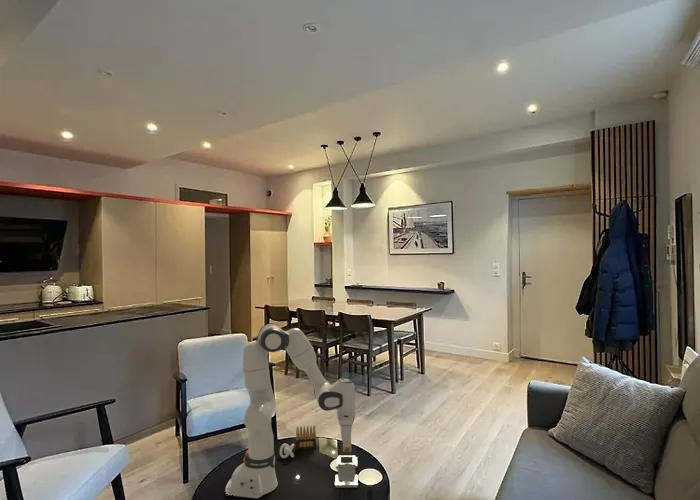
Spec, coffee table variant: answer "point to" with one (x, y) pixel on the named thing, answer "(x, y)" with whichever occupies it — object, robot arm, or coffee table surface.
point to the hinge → (346, 472)
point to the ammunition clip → (306, 438)
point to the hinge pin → (347, 448)
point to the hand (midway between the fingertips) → (346, 443)
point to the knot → (287, 450)
